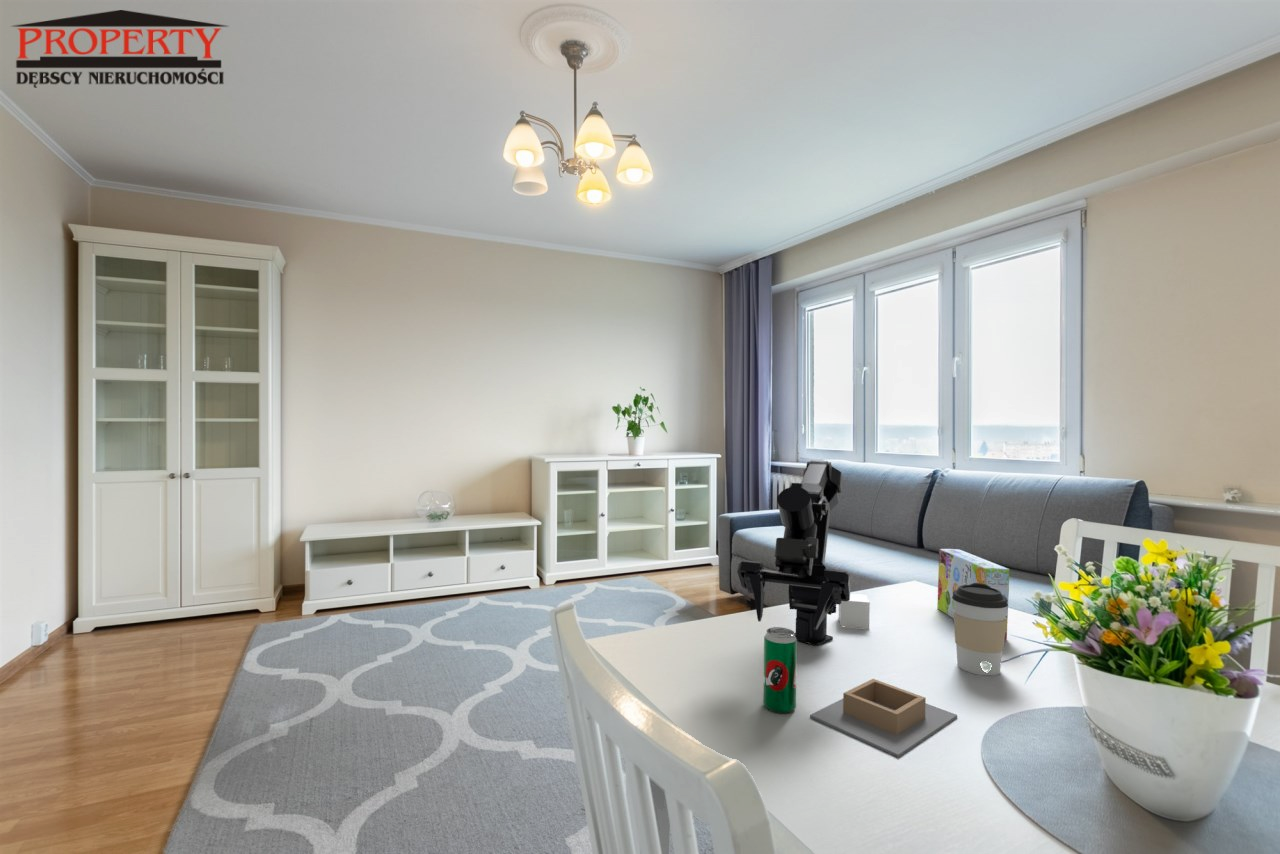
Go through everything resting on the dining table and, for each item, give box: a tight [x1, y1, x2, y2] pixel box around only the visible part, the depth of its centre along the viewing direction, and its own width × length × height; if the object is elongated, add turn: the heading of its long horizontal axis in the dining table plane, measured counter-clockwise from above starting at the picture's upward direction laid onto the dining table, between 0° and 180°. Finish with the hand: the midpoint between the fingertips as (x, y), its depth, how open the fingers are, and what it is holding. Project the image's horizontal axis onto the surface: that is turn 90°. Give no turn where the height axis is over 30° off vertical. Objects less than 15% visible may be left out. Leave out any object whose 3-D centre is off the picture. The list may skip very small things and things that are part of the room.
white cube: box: [838, 593, 871, 630], centre depth 136 cm, size 6×6×6 cm
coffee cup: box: [952, 583, 1009, 676], centre depth 112 cm, size 9×9×15 cm
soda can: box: [762, 626, 798, 714], centre depth 95 cm, size 5×5×12 cm
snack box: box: [937, 548, 1010, 640], centre depth 138 cm, size 21×6×15 cm, turn 179°
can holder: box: [809, 678, 958, 758], centre depth 92 cm, size 18×14×3 cm
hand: (786, 624), depth 100 cm, fingers open, 9 cm apart
